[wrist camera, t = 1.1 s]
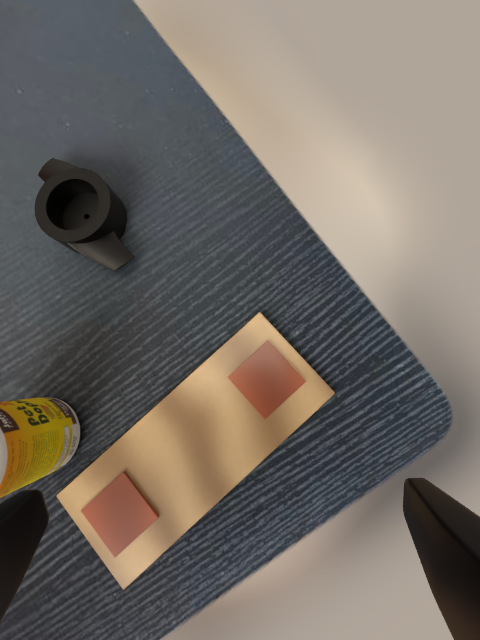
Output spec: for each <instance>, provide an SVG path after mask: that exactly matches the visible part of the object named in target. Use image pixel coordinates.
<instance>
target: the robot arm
mask: <svg viewBox="0 0 480 640" xmlns="http://www.w3.org/2000/svg"><path fill="white" fill-rule="evenodd" d="M403 511H404V516H405V519H406V522H407V525H408V528H409V530H410V533H411V536H412V539H413V542H414V544H415V547H416V550H417V552H418V555H419V558H420V560H421V564H422V566H423V569H424V572H425V574H426V577H427V580H428V583H429V585H430V588H431V590H432V593H433V595H434V598H435V600H436V602H437V604H438V606H439V608H440V611H441V613H442V615H443V617H444V619H445V621H446V623H447V626H448V628H449V630H450V632H451V634H452V636H453V638H454V640H480V517H479V516H478V515H476V514H475V513H474V512H472V511H470V510H469V509H468V508H466V507H465V506H464V505H462V504H460V503H459V502H458V501H456V500H455V499H453V498H452V497H451V496H449V495H448V494H446V493H445V492H443V491H442V490H440V489H439V488H438V487H436V486H435V485H433V484H432V483H430V482H429V481H428V480H426V479H424V478H408V479H406V480H405V483H404V497H403ZM48 521H49V514H48V511H47V507H46V504H45V500H44V497H43V494H42V492H41V491H40V490H23V491H21V492H19V493H17V494H16V495H14V496H13V497H11V498H9V499H8V500H6V501H4V502H3V503H1V504H0V621H1V620H2V618H3V616H4V614H5V612H6V611H7V609H8V607H9V605H10V603H11V601H12V600H13V598H14V596H15V594H16V592H17V590H18V588H19V586H20V584H21V582H22V579H23V577H24V575H25V573H26V571H27V569H28V567H29V564H30V562H31V560H32V558H33V556H34V554H35V551H36V549H37V547H38V545H39V543H40V541H41V538H42V536H43V534H44V532H45V530H46V528H47V525H48Z"/></svg>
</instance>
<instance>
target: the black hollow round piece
mask: <svg viewBox="0 0 480 640" xmlns="http://www.w3.org/2000/svg"><path fill="white" fill-rule="evenodd" d="M38 176H39V177H40V178H41V179H42V180H43V181H44V182H45V183H44V185H43V186H42V187H41V189H40V191H39V193H38V195H37V198H36V202H35V216H36V220H37V222H38V224H39V226H40V228H41V229H42V230H43V231H44V232H45V233H46V234H47V235H48V236H50V237H51V238H53V239H55V240H56V241H58V242H60V243H61V244H63V245H65V246H66V247H68V248H69V249H71V250H73V251H74V252H77V253H79V254H82V255H84V256H85V257H87V258H89V259H90V260H92V261H94V262H96V263H98V264H100V265H102V266H104V267H106V268H108V269H110V270H112V271H115V270H117V269H119V268H121V267H122V266H124V265H125V264H127V263H128V262H129V261H131V260H132V259H133V258H134V256H133V255H132V254H131V253H130V252H129V251H128V250H127V249H126V248H125V247H124V245H123V244H122V243H121V242H120V240H119V239H120V238H121V236H122V235H123V232H124V230H125V227H126V220H127V217H126V210H125V207H124V205H123V203H122V202H121V200H120V199H119V198H118V197H117V196H116V194H115V193H114V192H113V191H112V190H111V189H110V187H109V186H108V185H107V184H106V183H105V182H104V180H103V179H102V178H101V177H100V176H99V175H97V174H96V173H94V172H92V171H90V170H87V169H83V168H78V167H76V166H74V165H71V164H69V163H66V162H63V161H60V160H57V159H54V158H52V159H50V160H49V161H48V162H47V163H46V164H45V165H44V166H43V167H42V169H41V170H40V172H39V174H38Z"/></svg>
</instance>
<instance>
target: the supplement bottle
mask: <svg viewBox="0 0 480 640" xmlns="http://www.w3.org/2000/svg"><path fill="white" fill-rule="evenodd" d="M79 440H80V424H79V421H78V418H77V416H76V414H75V412H74V410H73V409H72V408H71V407H70V406H69V405H68V404H67V403H65V402H63V401H62V400H59V399H57V398H52V397H39V398H31V399H23V400H14V401H6V402H0V498H1V497H3V496H5V495H7V494H9V493H11V492H13V491H15V490H17V489H19V488H21V487H23V486H26V485H27V484H30V483H32V482H34V481H36V480H38V479H40V478H42V477H44V476H46V475H48V474H50V473H52V472H54V471H56V470H58V469H60V468H61V467H63V466H64V465H65V464H66V463H67V462H68V461H69V460H70V459H71V458H72V456H73V455H74V453H75V451H76V449H77V447H78V444H79Z"/></svg>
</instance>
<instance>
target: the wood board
mask: <svg viewBox="0 0 480 640" xmlns="http://www.w3.org/2000/svg"><path fill="white" fill-rule="evenodd" d="M334 394H335V392H334V391H333V390H332V389H331V388H330V387H329V386H328V385H327V384H326V382H325V381H324V380H323V379H322V378H321V377H320V376H319V375H318V374H317V373H316V372H315V371H314V370H313V369H312V367H311V366H310V365H309V364H308V363H307V362H306V361H305V360H304V359H303V358H302V357H301V356H300V355H299V354H298V352H297V351H296V350H295V349H294V348H293V347H292V346H291V345H290V344H289V343H288V342H287V341H286V340H285V338H284V337H283V336H282V335H281V334H280V333H279V332H278V331H277V330H276V329H275V328H274V327H273V326H272V325H271V323H270V322H269V321H268V320H267V319H266V318H265V317H264V316H263V315H262V314H261V313H260V312H259V313H258V314H257V315H256V316H255V317H254V318H252V319H251V320H250V321H249V322H248V323H247V324H246V325H245V326H244V327H242V328H241V329H240V330H239V331H238V332H237V333H236V334H235V335H234V336H233V337H231V338H230V339H229V340H228V341H227V342H226V343H225V344H224V345H223V346H221V347H220V348H219V349H218V350H217V351H216V352H215V353H214V354H213V355H211V356H210V357H209V358H208V359H207V360H206V361H205V362H204V363H203V364H202V365H200V366H199V367H198V368H197V369H196V370H195V371H194V372H193V373H192V374H190V375H189V376H188V377H187V378H186V379H185V380H184V381H183V382H182V383H180V384H179V385H178V386H177V387H176V388H175V389H174V390H173V391H172V392H171V393H169V394H168V395H167V396H166V397H165V398H164V399H163V400H162V401H161V402H159V403H158V404H157V405H156V406H155V407H154V408H153V409H152V410H151V411H150V412H148V413H147V414H146V415H145V416H144V417H143V418H142V419H141V420H140V421H138V422H137V423H136V424H135V425H134V426H133V427H132V428H131V429H130V430H128V431H127V432H126V433H125V434H124V435H123V436H122V437H121V438H120V439H119V440H117V441H116V442H115V443H114V444H113V445H112V446H111V447H110V448H109V449H107V450H106V451H105V452H104V453H103V454H102V455H101V456H100V457H99V458H98V459H96V460H95V461H94V462H93V463H92V464H91V465H90V466H89V467H88V468H86V469H85V470H84V471H83V472H82V473H81V474H80V475H79V476H78V477H76V478H75V479H74V480H73V481H72V482H71V483H70V484H69V485H68V486H67V487H65V488H64V489H63V490H62V491H61V492H60V493H59V494H58V495H57V498H58V499H59V501H60V502H61V503H62V505H63V506H64V508H65V509H66V510H67V512H68V513H69V515H70V516H71V517H72V519H73V520H74V522H75V523H76V524H77V526H78V527H79V529H80V530H81V531H82V533H83V534H84V536H85V537H86V538H87V540H88V541H89V543H90V544H91V545H92V547H93V548H94V550H95V551H96V552H97V554H98V555H99V557H100V558H101V559H102V561H103V562H104V564H105V565H106V566H107V568H108V569H109V570H110V572H111V573H112V575H113V576H114V577H115V579H116V580H117V582H118V583H119V584H120V586H121V587H122V589H123V590H124V589H125V588H126V587H127V586H128V585H129V584H131V583H132V582H133V581H134V580H135V579H136V578H137V577H138V576H139V575H140V574H141V573H142V572H143V571H145V570H146V569H147V568H148V567H149V566H150V565H151V564H152V563H153V562H154V561H155V560H156V559H157V558H159V557H160V556H161V555H162V554H163V553H164V552H165V551H166V550H167V549H168V548H169V547H170V546H171V545H173V544H174V543H175V542H176V541H177V540H178V539H179V538H180V537H181V536H182V535H183V534H184V533H185V532H187V531H188V530H189V529H190V528H191V527H192V526H193V525H194V524H195V523H196V522H197V521H198V520H199V519H201V518H202V517H203V516H204V515H205V514H206V513H207V512H208V511H209V510H210V509H211V508H212V507H213V506H214V505H216V504H217V503H218V502H219V501H220V500H221V499H222V498H223V497H224V496H225V495H226V494H227V493H228V492H230V491H231V490H232V489H233V488H234V487H235V486H236V485H237V484H238V483H239V482H240V481H241V480H242V479H244V478H245V477H246V476H247V475H248V474H249V473H250V472H251V471H252V470H253V469H254V468H255V467H256V466H258V465H259V464H260V463H261V462H262V461H263V460H264V459H265V458H266V457H267V456H268V455H269V454H270V453H272V452H273V451H274V450H275V449H276V448H277V447H278V446H279V445H280V444H281V443H282V442H283V441H284V440H285V439H287V438H288V437H289V436H290V435H291V434H292V433H293V432H294V431H295V430H296V429H297V428H298V427H299V426H301V425H302V424H303V423H304V422H305V421H306V420H307V419H308V418H309V417H310V416H311V415H312V414H313V413H315V412H316V411H317V410H318V409H319V408H320V407H321V406H322V405H323V404H324V403H325V402H326V401H327V400H329V399H330V398H331V397H332V396H333V395H334Z"/></svg>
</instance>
